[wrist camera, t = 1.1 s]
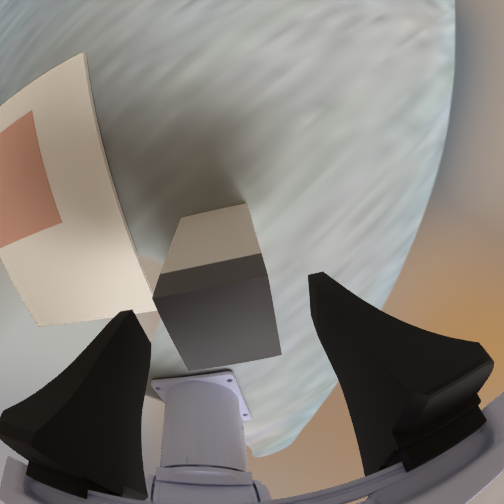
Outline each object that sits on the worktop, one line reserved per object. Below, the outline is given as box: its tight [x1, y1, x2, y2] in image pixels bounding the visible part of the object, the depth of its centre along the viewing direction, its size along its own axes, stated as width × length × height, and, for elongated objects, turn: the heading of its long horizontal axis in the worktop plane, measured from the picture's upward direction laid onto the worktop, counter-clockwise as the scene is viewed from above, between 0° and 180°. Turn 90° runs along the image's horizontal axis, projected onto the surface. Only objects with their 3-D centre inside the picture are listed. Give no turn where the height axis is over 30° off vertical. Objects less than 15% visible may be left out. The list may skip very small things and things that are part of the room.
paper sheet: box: [0, 52, 157, 327], centre depth 14 cm, size 18×13×1 cm
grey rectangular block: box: [152, 203, 282, 371], centre depth 13 cm, size 4×4×8 cm
